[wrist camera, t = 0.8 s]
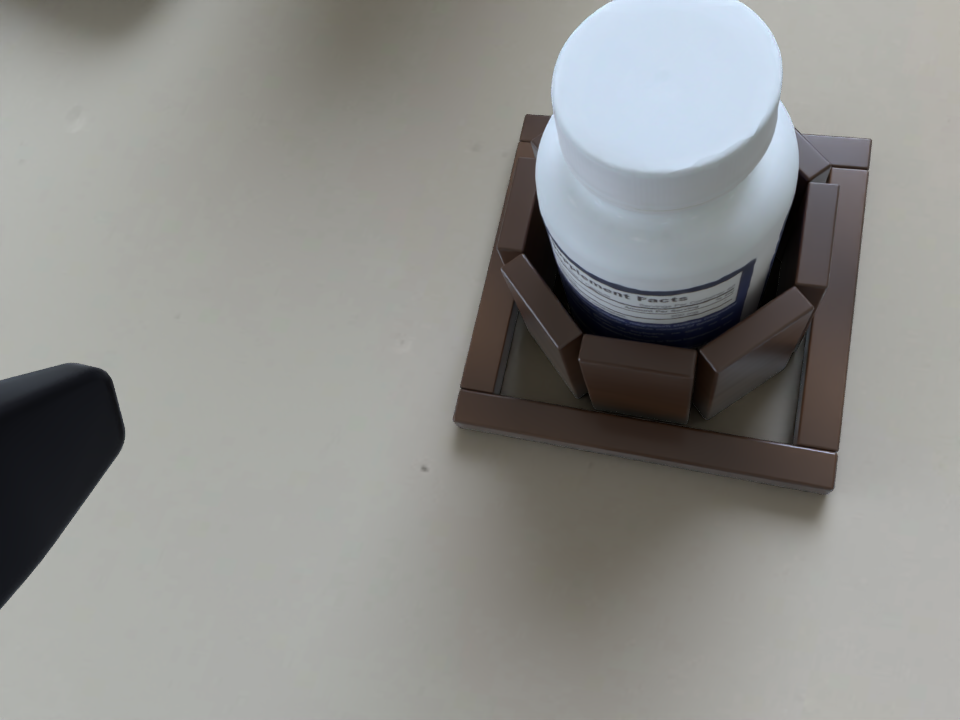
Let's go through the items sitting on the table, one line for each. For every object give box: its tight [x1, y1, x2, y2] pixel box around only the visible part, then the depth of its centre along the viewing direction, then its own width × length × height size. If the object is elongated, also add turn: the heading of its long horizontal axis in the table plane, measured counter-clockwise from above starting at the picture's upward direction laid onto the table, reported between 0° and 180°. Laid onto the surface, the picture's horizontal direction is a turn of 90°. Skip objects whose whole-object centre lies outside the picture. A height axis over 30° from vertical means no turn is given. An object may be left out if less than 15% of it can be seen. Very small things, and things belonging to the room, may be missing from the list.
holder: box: [453, 114, 872, 495], centre depth 21 cm, size 10×10×4 cm
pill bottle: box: [535, 0, 799, 368], centre depth 18 cm, size 5×5×10 cm
